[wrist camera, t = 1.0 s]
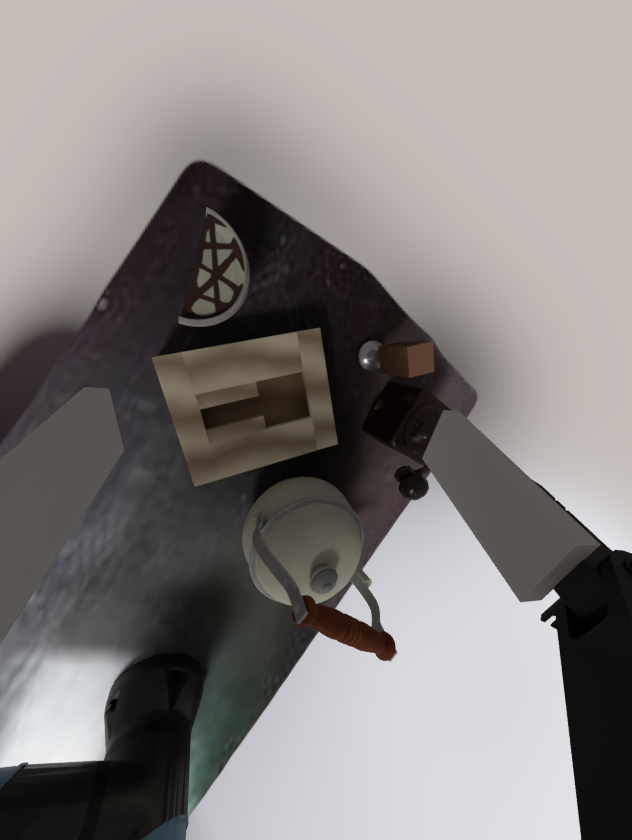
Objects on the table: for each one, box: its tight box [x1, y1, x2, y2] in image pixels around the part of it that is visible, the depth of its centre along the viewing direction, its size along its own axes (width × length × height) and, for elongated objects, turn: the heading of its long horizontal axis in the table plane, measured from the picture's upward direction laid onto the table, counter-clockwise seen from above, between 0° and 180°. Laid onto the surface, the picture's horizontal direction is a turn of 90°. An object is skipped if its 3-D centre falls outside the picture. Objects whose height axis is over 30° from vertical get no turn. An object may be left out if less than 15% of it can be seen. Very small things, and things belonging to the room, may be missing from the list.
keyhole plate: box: [152, 328, 338, 487], centre depth 43 cm, size 18×22×5 cm
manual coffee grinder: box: [362, 382, 452, 500], centre depth 47 cm, size 16×11×18 cm
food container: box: [179, 207, 250, 327], centre depth 36 cm, size 12×6×10 cm, turn 161°
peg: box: [356, 341, 434, 378], centre depth 44 cm, size 5×5×14 cm
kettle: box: [242, 477, 397, 661], centre depth 42 cm, size 25×18×25 cm
